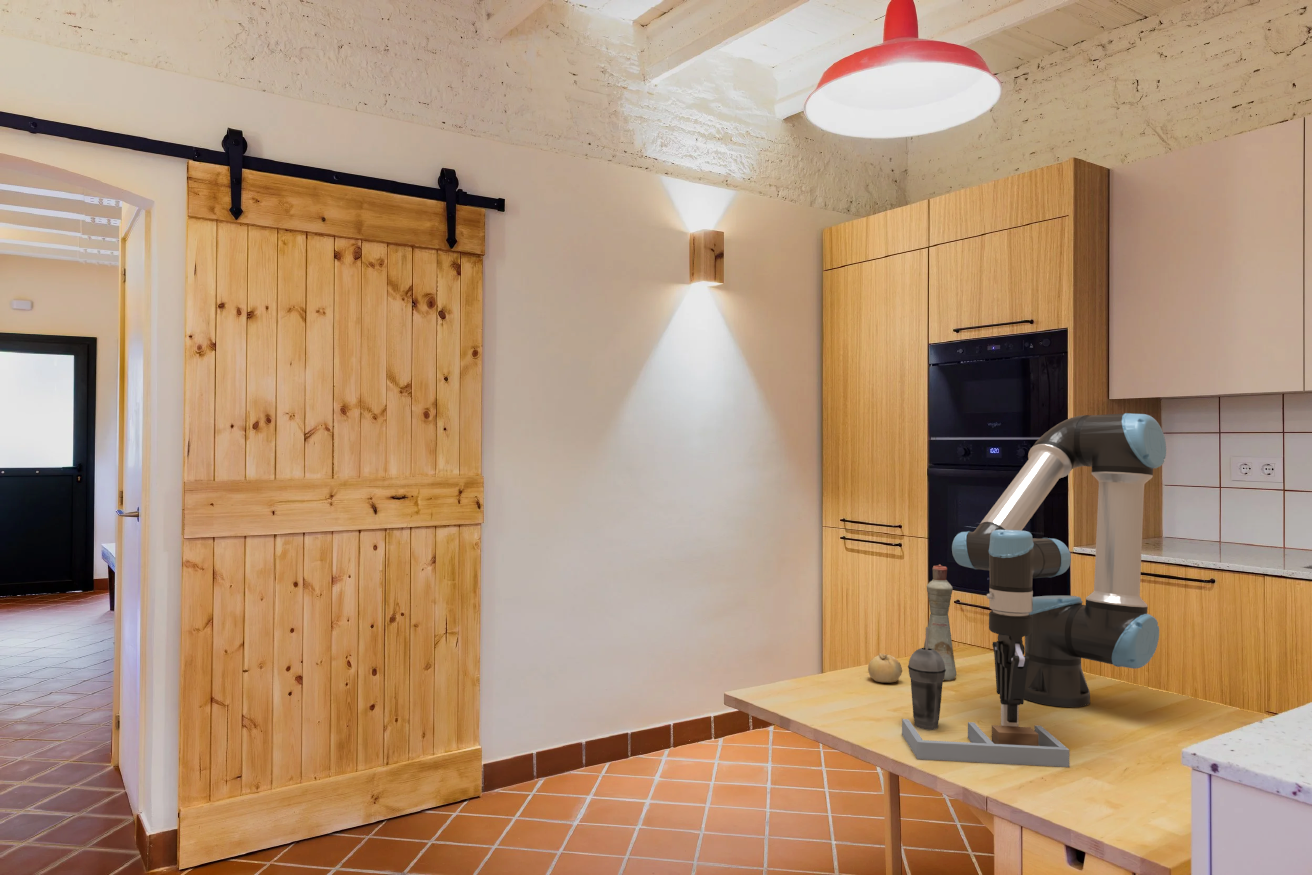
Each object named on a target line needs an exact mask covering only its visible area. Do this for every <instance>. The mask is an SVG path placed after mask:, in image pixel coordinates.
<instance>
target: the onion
mask: <svg viewBox="0 0 1312 875" xmlns="http://www.w3.org/2000/svg"><path fill="white" fill-rule="evenodd" d="M867 668H868V669H867V671H868V674H869V676H870V678H871V679H872V680H873V681H875V682H877V683H895V682H897V681H899V679H900V677H901V676H902V673H903V667H902V665H901V663H900V662H899V660H898V659H897V658H896V657H894V656H893V655H891V654H885V653H878V654H877V655H876V656H874V657H872V658H871V660H870V661H869V662H868V666H867Z"/></svg>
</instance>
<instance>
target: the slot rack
mask: <svg viewBox="0 0 1312 875" xmlns="http://www.w3.org/2000/svg"><path fill="white" fill-rule="evenodd" d="M1033 730H1034V731H1035V732H1036V733H1038V734H1039V736H1038V746H1027V745H1008V744H994V743H993V742H992V739H990V737H988V735H987V734H986V733H985V732H983V730H982V729H981V728H980V727H979V725H977V724H976V722H975V721H974V722H973V721H972V722H969V721H968V722H967V739H968V740H969V741H970V742H969V741H967V742H966V741H948V740H947V741H946V740H945V741H944V740H925V739H924V740H923V738H922V736H921V735H920V734H919V732H918V730H916V728H915V726H914V725H913V723H912V722H911V720H909V718H901V736H902V737H903V738H904V740H905V742H906V743H907V745H908V747H909V748H910V749H911V751H912V753H913V754H914V756H915V758H916V759H917V760H926V761H927V760H928V761H945V762H947V761H948V762H965V763H981V764H982V763H985V764H1004V765H1018V766H1019V765H1023V766H1037V767H1038V766H1040V767H1057V768H1060V767H1061V768H1070V749H1069V748H1068V747H1067V746H1065V745H1064V744H1063V743H1062V742H1060V740H1059V739H1057V737H1055V736H1054V735H1053V734H1051V733H1050V732H1049V731H1048V730H1046V729H1045V728H1044V727H1043V726H1042V725H1034V728H1033Z"/></svg>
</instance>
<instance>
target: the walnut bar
mask: <svg viewBox="0 0 1312 875" xmlns="http://www.w3.org/2000/svg"><path fill="white" fill-rule="evenodd" d="M1038 736H1039V734H1038V733H1036V732H1035V731H1034V728H1032V727H1031V726H1018V727H1017V726H1001V725H996V724H994V725H991V741H992V742H993V743H994V744H1008V745H1027V746H1039V745H1038Z"/></svg>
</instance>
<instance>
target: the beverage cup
mask: <svg viewBox="0 0 1312 875" xmlns="http://www.w3.org/2000/svg"><path fill="white" fill-rule="evenodd" d="M925 638H926V648H924V647H921V648H918V649H916V650H915V651H914V652H913V653H912V654H911V655H910V658H909V661H908V666H907V668H908V673H909V674H908V675H909V679H910V692H911V701H912V715H913V716H912V717H913V723H914V725H913V726H914V727H916V728H918V729H921V730H927V731H930V730H931V731H933V730H937V729H939V720H940V713H941V704H942V695H943V694H942V693H943V683H944V681H945V680H944V676H945V671H946V669H945V664H944V661H943V659H942V657H941V656H940V654H939V653H938V652H937V651H935V650H933V649H931V648H928V626H926V627H925Z"/></svg>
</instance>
